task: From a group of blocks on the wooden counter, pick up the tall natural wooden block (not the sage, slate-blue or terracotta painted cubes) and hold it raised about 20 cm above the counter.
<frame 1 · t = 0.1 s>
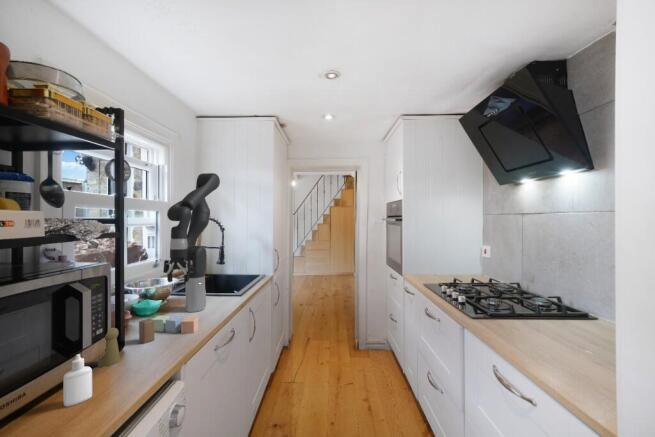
hand: (178, 282, 140), 17 cm above the counter, tool pointing down, fingers open, 8 cm apart
slate blue cube: (175, 330, 125), on the counter
sage cube: (160, 329, 126), on the counter
olive pawn: (109, 362, 97), on the counter
eye dropper bottle: (78, 401, 76), on the counter
wooden block: (146, 341, 114), on the counter
terracotta cube: (189, 331, 124), on the counter
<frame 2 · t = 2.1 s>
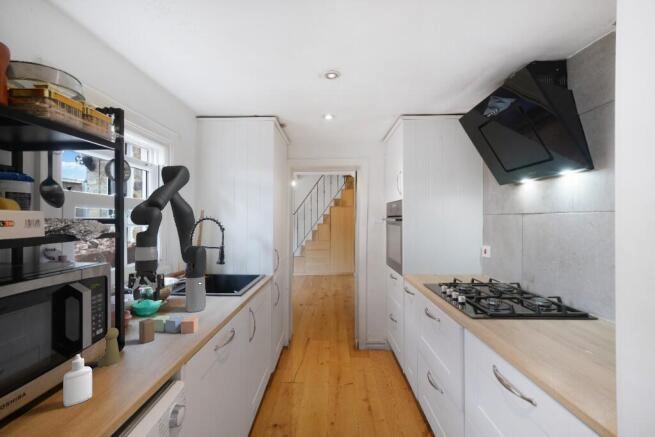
hand: (146, 300, 114), 16 cm above the counter, tool pointing down, fingers open, 8 cm apart
nothing on the counter moved.
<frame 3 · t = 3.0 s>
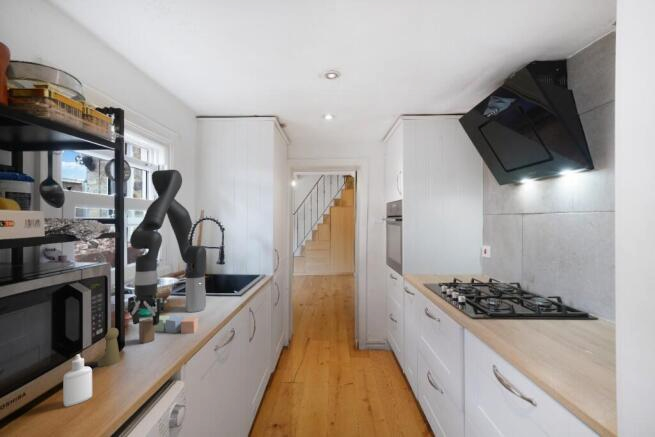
hand: (145, 324, 113), 7 cm above the counter, tool pointing down, fingers open, 8 cm apart
nothing on the counter moved.
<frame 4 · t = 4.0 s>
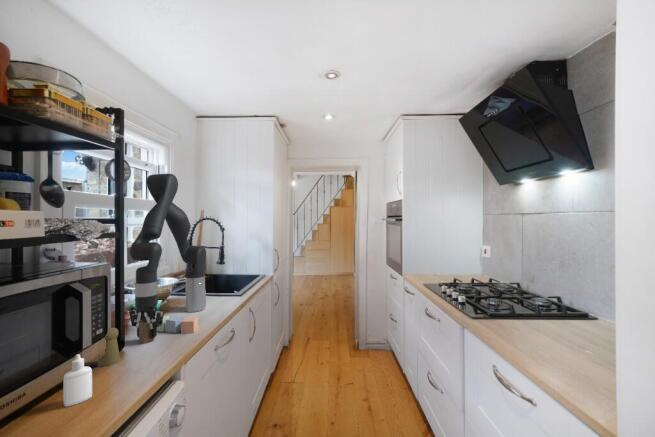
hand: (146, 337, 114), 1 cm above the counter, tool pointing down, fingers closed on wooden block, 5 cm apart
wooden block: (146, 341, 114), on the counter, touching gripper
everything else where it was.
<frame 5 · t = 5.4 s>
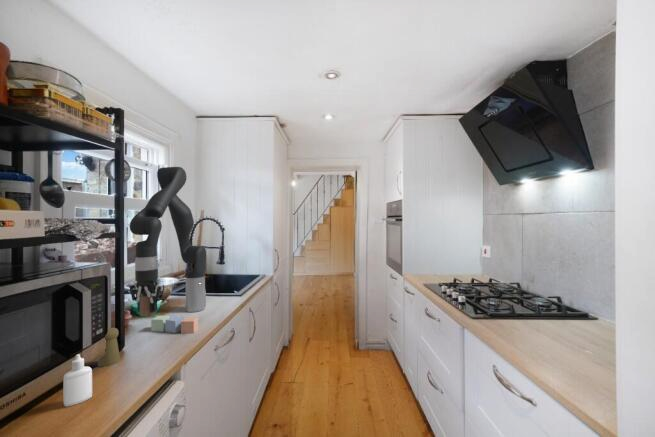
hand: (147, 311, 114), 11 cm above the counter, tool pointing down, fingers closed on wooden block, 5 cm apart
wooden block: (147, 315, 114), point 10 cm above the counter, touching gripper
everything else where it was.
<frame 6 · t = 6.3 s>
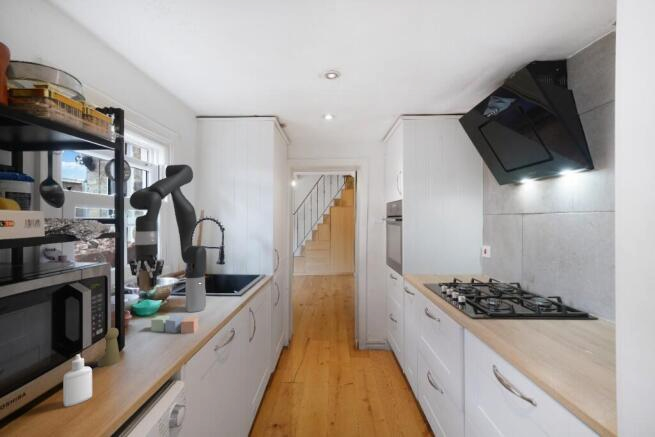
hand: (146, 286, 114), 21 cm above the counter, tool pointing down, fingers closed on wooden block, 5 cm apart
wooden block: (146, 290, 114), point 19 cm above the counter, touching gripper
everything else where it was.
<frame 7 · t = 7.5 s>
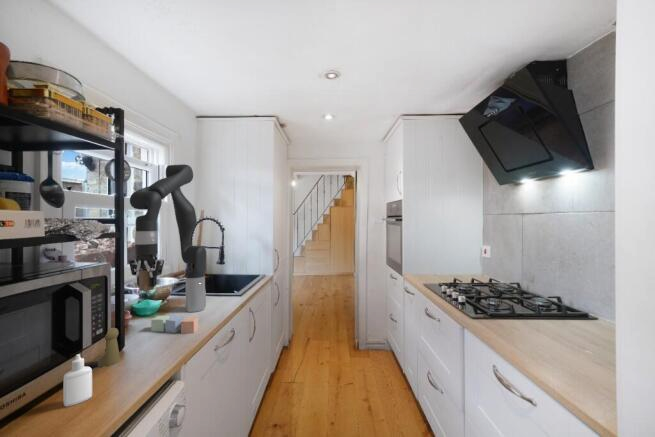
hand: (146, 286, 114), 21 cm above the counter, tool pointing down, fingers closed on wooden block, 5 cm apart
wooden block: (146, 290, 114), point 20 cm above the counter, touching gripper
everything else where it was.
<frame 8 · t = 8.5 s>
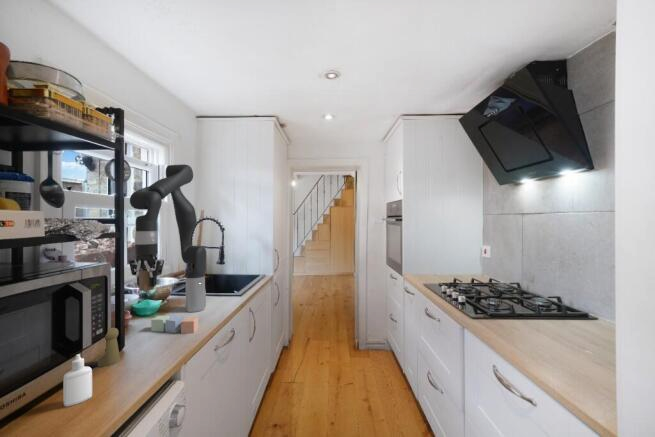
hand: (146, 286, 114), 21 cm above the counter, tool pointing down, fingers closed on wooden block, 5 cm apart
wooden block: (146, 290, 114), point 20 cm above the counter, touching gripper
everything else where it was.
at the end: the gripper is holding wooden block; wooden block point 19.6 cm above the counter; slate blue cube moved 0.1 cm from its start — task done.
